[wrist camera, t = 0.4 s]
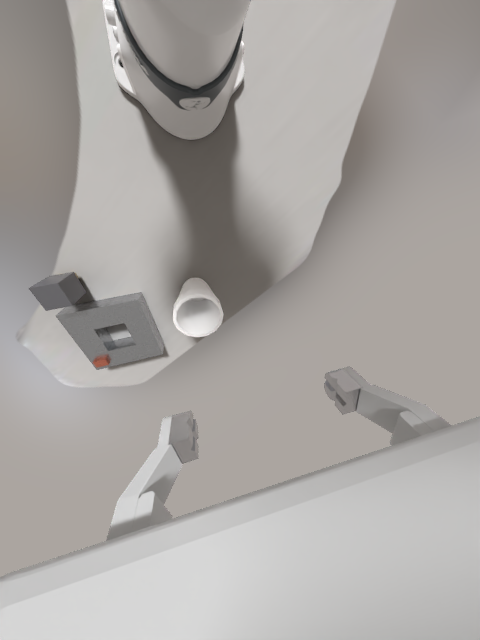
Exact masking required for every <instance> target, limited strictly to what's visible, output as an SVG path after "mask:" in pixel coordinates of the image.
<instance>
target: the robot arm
mask: <svg viewBox="0 0 480 640" xmlns="http://www.w3.org/2000/svg"><path fill="white" fill-rule="evenodd" d="M250 2H251V0H102V4H103V10H104V16H105V21H106V27H107V33H108V39H109V45H110V51H111V57H112V63H113V69H114V74H115V77H116V80H117V82H118V84H119V85H120V87H121V88H122V89H123V90H124V91H126V92H127V93H128V94H130V95H131V96H132V97H134V98H135V99H137V100H138V101H140V103H141V104H142V105H143V106H144V107H145V108H146V110H147V111H148V112H149V114H150V115H151V116H152V117H153V119H154V120H155V121H156V122H157V123H158V124H159V125H160V126H161V127H162V128H163V129H165V130H166V131H168V132H169V133H171V134H172V135H174V136H177V137H179V138H182V139H188V140H195V139H200V138H203V137H205V136H207V135H209V134H210V133H211V132H212V131H214V130H215V128H216V127H217V126H218V125H219V123H220V122H221V120H222V118H223V116H224V114H225V111H226V108H227V105H228V102H229V100H230V98H231V95H232V94H233V93H234V92H235V91H236V90H237V89H238V87H239V86H240V85H241V83H242V81H243V78H244V73H245V70H244V63H243V54H244V43H243V42H242V41H241V38H242V32H243V23H244V20H245V17H246V14H247V11H248V8H249V5H250ZM120 61H121V62H122V65H123V67H124V68H122V67H121V66H120ZM325 379H326V382H325V383H324V388H325V391H326V393H327V395H328V397H329V398H330V399H332V400H334V401H335V406H336V407H337V408H338V410H339V411H340V412H341V413H342V414H346V413H350V412H354V411H356V412H358V413H359V414H361V415H363V416H364V417H366V418H368V419H369V420H371V421H373V422H374V423H376V424H378V425H379V426H381V427H383V428H384V429H386V430H387V431H389V432H391V433H392V437H391V440H390V444H391V445H392V446H390V447H386V448H383V449H381V450H377V451H374V452H371V453H369V454H365V455H362V456H359V457H356V458H354V459H350V460H347V461H344V462H341V463H338V464H335V465H332V466H329V467H326V468H323V469H321V470H317V471H314V472H311V473H308V474H305V475H302V476H300V477H297V478H293V479H290V480H287V481H284V482H282V483H278V484H275V485H272V486H269V487H266V488H264V489H260V490H257V491H254V492H252V493H248V494H245V495H242V496H239V497H236V498H233V499H230V500H227V501H224V502H221V503H219V504H215V505H212V506H209V507H206V508H203V509H200V510H197V511H195V512H192V513H188V514H185V515H182V516H180V517H176V518H174V519H172V515H171V514H170V512H169V511H168V510H167V508H166V507H165V506H164V503H165V501H166V499H167V497H168V495H169V493H170V491H171V489H172V486H173V484H174V482H175V480H176V478H177V476H178V474H179V471H180V469H181V467H182V464H183V463H186V462H189V461H192V460H195V459H198V444H197V441H196V440H197V439H198V427H197V423H196V420H195V419H193V413H192V411H188V412H184V413H180V414H176V415H172V416H168V417H165V418H164V419H163V420H162V424H161V430H160V436H159V441H158V447H157V448H156V449H154V450H153V452H152V453H151V454H150V456H149V457H148V459H147V460H146V462H145V463H144V464H143V466H142V467H141V469H140V470H139V472H138V473H137V474H136V476H135V477H134V479H133V480H132V481H131V483H130V484H129V486H128V487H127V488H126V490H125V491H124V493H123V494H122V496H121V497H120V498H119V500H118V502H117V505H116V509H115V512H114V516H113V519H112V523H111V526H110V529H109V533H108V536H107V540H106V541H105V542H101V543H99V544H95V545H93V546H90V547H86V548H84V549H81V550H77V551H74V552H71V553H69V554H65V555H62V556H59V557H57V558H53V559H50V560H47V561H45V562H42V563H38V564H35V565H32V566H29V567H26V568H23V569H20V570H17V571H14V572H11V573H9V574H6V575H4V576H2V577H0V640H480V417H476V418H473V419H470V420H467V421H464V422H461V423H458V424H455V425H452V426H451V425H450V424H449V423H448V422H446V421H445V420H444V419H443V418H441V417H440V416H439V415H437V414H436V413H435V412H434V411H432V410H431V409H430V408H429V407H427V406H426V405H425V404H422V403H420V402H417V401H414V400H412V399H409V398H407V397H404V396H401V395H399V394H396V393H394V392H391V391H388V390H386V389H383V388H381V387H378V386H376V385H370V384H369V383H368V382H367V381H366V380H365V379H364V378H363V377H362V376H360V375H359V374H358V373H357V372H356V371H355V370H354V369H353V368H351V367H346V368H342V369H338V370H335V371H331V372H328V373H326V374H325Z"/></svg>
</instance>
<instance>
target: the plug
mask: <svg viewBox="0 0 480 640" xmlns="http://www.w3.org/2000/svg"><path fill="white" fill-rule="evenodd" d="M29 290H30V291H31V292H32V293H33V294H34V296H35V297H36V299H37V300H38V301H39V302H40V304H41V305H42V306H43V307H44V309H45V310H46V311H47V310H52V309H57V308H63V307H68V306H73V305H74V304H75V303H76V302H77V301H78V300H79V299H80V298H81V297H82V296H83V295H84V294H85V293H86V291H85V289H84V288H83V286H82V284H81V283H80V281H79V279H78V277H77V275H76V273H74V272H71V273H65V274H59V275H53V276H49V277H47V278H45V279H44V280H42V281H40V282H38V283H37V284H35V285H33V286H32V287H30V288H29Z"/></svg>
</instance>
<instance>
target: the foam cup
mask: <svg viewBox="0 0 480 640" xmlns="http://www.w3.org/2000/svg"><path fill="white" fill-rule="evenodd" d="M223 315H224V313H223V310H222V307H221V304H220V301H219V299H218V298H217V297H216V296H215V295H214V293H213V292H212V290H211V289H210V287H209V286H208V284H207V283H206V282H205V281H204V280H203V279H200V278H190V279H188V280H187V281H185V283H184V285H183V286H182V289H181V291H180V294H179V296H178V299H177V300H176V302H175V304H174V309H173V322H174V324H175V325H176V327H177V329H178V330H179V331H181V332H182V333H184V334H185V335H188V336H192V337H202V336H208V335H209V334H211V333H213V332H215V331H216V330H217V329H218V327H219V326H220V325H221V324H222V320H223Z"/></svg>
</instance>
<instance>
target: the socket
mask: <svg viewBox="0 0 480 640" xmlns="http://www.w3.org/2000/svg"><path fill="white" fill-rule="evenodd" d="M56 317H57V318H58V320H59V321H60V322H61V324H62V325H63V326H64V328H65V329H66V330H67V331H68V333H69V334H70V335H71V337H72V338H73V339H74V341H75V342H76V343H77V345H78V346H79V347H80V349H81V350H82V351H83V352H84V354H85V355H86V356H87V358H88V359H89V360H90V362H91V363H92V364H93V366H94V367H95V368H96V369H97V370H99V369H103V368H107V367H111V366H116V365H120V364H124V363H128V362H133V361H137V360H141V359H145V358H149V357H154V356H158V355H162V354H163V350H164V343H163V341H162V338H161V336H160V334H159V331H158V329H157V327H156V324H155V322H154V320H153V317H152V315H151V313H150V311H149V308H148V306H147V304H146V301H145V299H144V297H143V294H142V292H140V293H135V294H130V295H124V296H119V297H114V298H109V299H103V300H98V301H93V302H88V303H82V304H77V305H73V306H68V307H65V308H64V309H63V310H62V311H60V312H59V313H58V314H57V315H56ZM123 323H125V325H126V327H127V329H128V331H129V333H130V334H131V336H132V337H128V338H123V339H119V340H114V341H113V340H112V338H111V337H110V335H109V333H108V332H107V330H106V328H105V327H109V326H113V325H118V324H123Z"/></svg>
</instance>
